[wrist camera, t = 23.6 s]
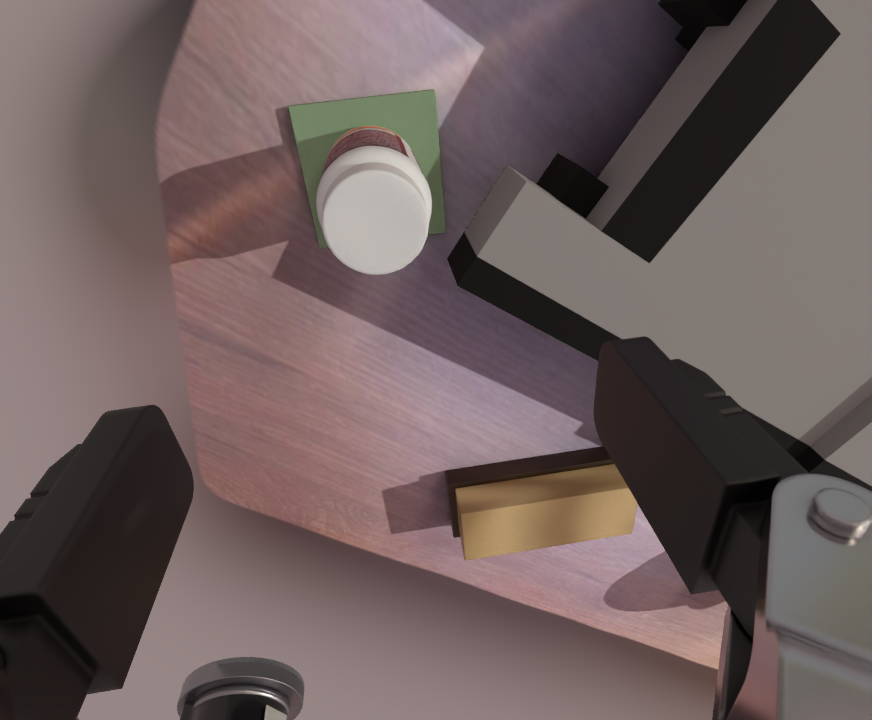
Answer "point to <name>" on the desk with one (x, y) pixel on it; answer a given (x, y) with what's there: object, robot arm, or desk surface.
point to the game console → (720, 225)
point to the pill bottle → (373, 201)
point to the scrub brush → (538, 503)
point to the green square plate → (394, 112)
